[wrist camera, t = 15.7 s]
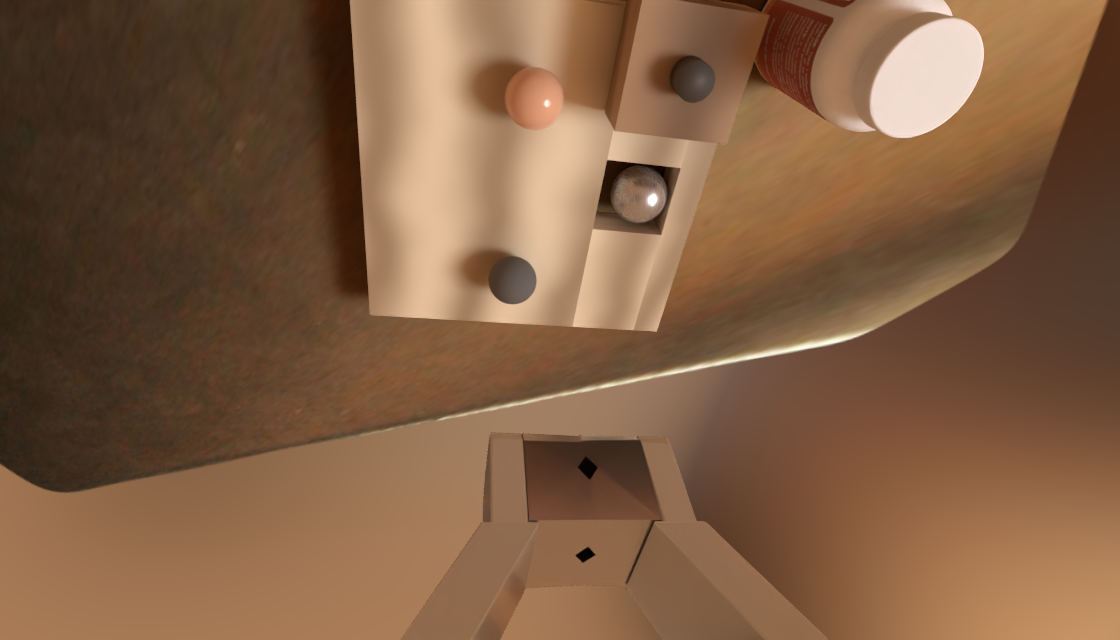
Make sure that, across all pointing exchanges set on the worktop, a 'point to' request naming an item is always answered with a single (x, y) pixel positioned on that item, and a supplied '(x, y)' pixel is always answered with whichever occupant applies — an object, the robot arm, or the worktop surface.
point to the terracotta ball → (534, 98)
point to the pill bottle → (872, 61)
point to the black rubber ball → (512, 280)
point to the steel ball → (638, 194)
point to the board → (506, 166)
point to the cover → (683, 67)
